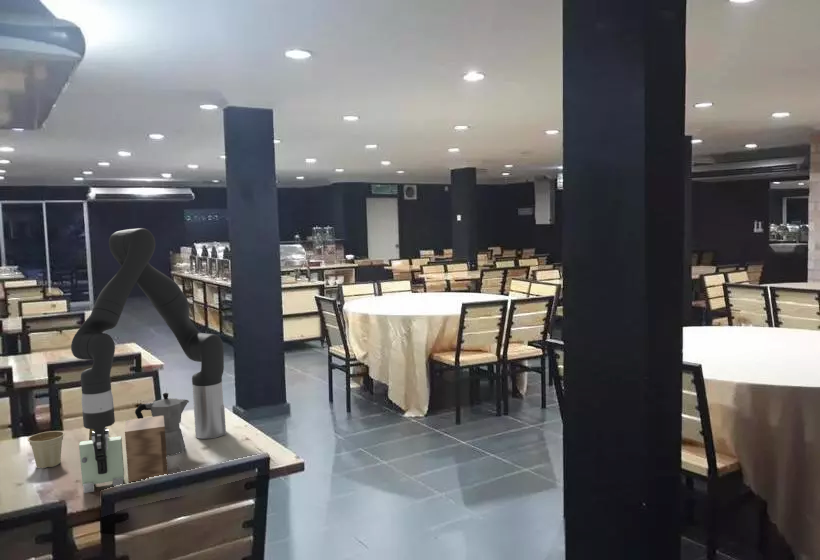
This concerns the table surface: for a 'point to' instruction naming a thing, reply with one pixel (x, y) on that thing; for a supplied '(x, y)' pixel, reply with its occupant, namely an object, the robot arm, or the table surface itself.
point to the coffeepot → (168, 420)
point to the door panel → (113, 459)
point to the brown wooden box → (145, 448)
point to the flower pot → (47, 448)
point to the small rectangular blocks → (90, 485)
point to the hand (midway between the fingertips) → (103, 470)
